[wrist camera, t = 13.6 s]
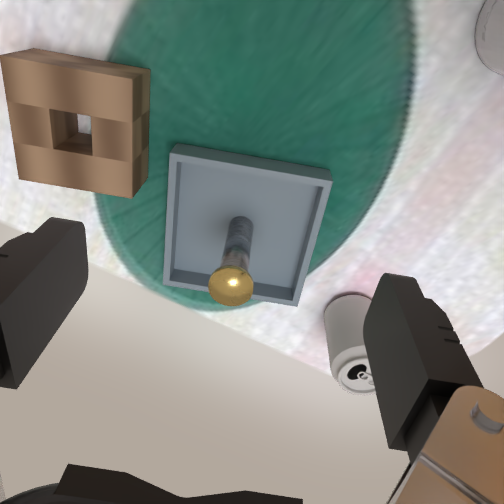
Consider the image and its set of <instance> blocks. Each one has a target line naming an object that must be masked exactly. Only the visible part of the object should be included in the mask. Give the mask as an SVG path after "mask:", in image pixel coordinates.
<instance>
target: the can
mask: <svg viewBox="0 0 504 504" xmlns="http://www.w3.org/2000/svg"><path fill="white" fill-rule="evenodd" d="M370 303H371V300H370V299H368V298H367V297H364V296H360V295H347V296H342V297H340V298H338V299H336V300H334V301H333V302H332V303H330V304H329V305H328V307H327V309H326V310H325V313H324V323H325V330H326V338H327V345H328V353H329V360H330V368H331V372H332V375H333V377H334V378H335V379H336V381H337V382H338V383H339V385H340V386H341V387H342V389H344V390H345V391H347V392H349V393H351V394H355V395H371V394H375V393H376V391H375V387H374V382H373V378H372V374H371V370H370V365H369V361H368V357H367V352H366V348H365V344H364V339H363V325H364V320H365V316H366V314H367V311H368V309H369V306H370Z"/></svg>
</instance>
